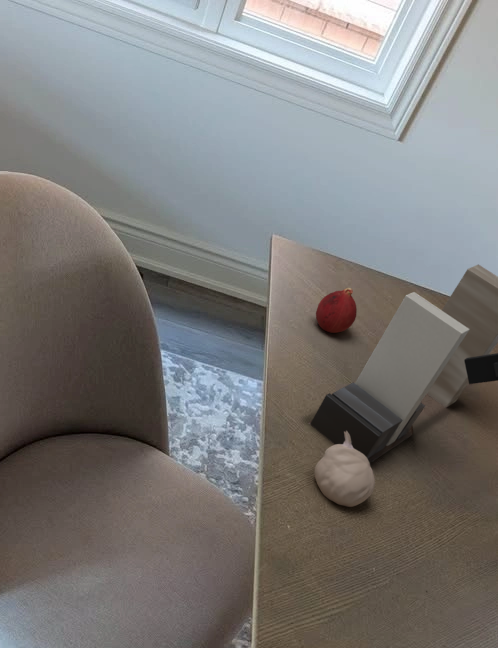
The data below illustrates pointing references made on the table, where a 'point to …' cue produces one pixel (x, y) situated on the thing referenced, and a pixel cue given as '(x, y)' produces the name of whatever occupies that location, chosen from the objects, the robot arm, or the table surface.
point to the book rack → (380, 423)
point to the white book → (410, 357)
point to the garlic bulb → (345, 474)
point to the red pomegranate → (336, 311)
